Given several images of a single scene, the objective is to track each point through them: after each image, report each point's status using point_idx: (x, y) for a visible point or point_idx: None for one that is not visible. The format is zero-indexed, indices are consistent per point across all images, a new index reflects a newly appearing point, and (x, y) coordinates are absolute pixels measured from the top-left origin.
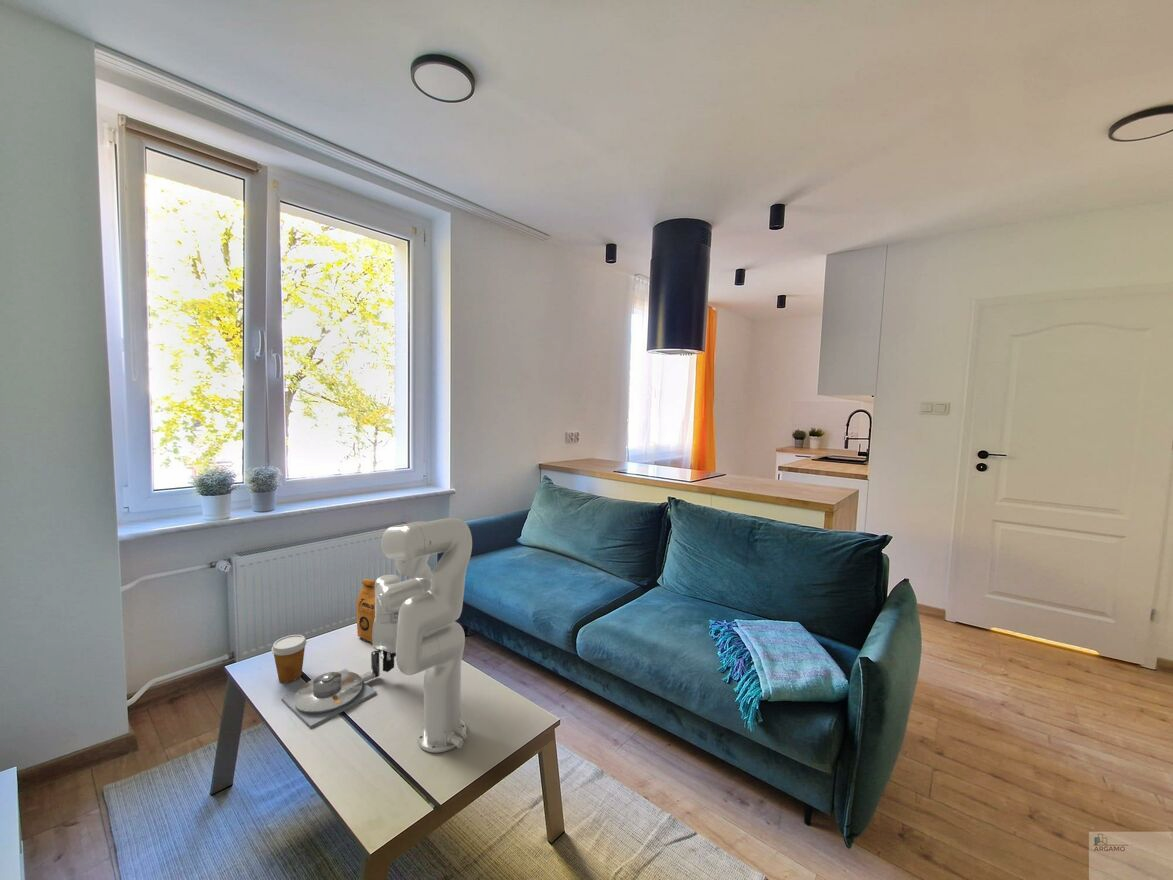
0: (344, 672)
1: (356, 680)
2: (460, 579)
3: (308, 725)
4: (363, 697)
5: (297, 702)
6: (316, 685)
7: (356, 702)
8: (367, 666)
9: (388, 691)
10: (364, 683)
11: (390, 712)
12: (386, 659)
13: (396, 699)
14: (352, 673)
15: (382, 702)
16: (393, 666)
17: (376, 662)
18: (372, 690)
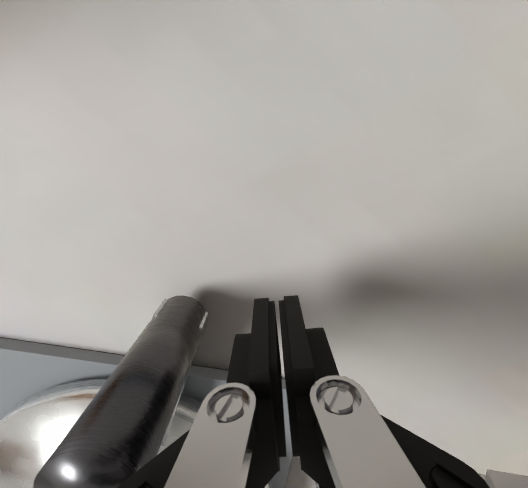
0: (25, 421)
1: (164, 437)
2: None
3: None
4: (290, 445)
5: None
6: None
7: (288, 469)
8: (24, 244)
9: (347, 343)
10: (191, 378)
11: (474, 431)
12: (283, 436)
13: (436, 365)
14: (74, 408)
15: (386, 406)
16: (322, 330)
17: (173, 411)
18: (283, 396)
